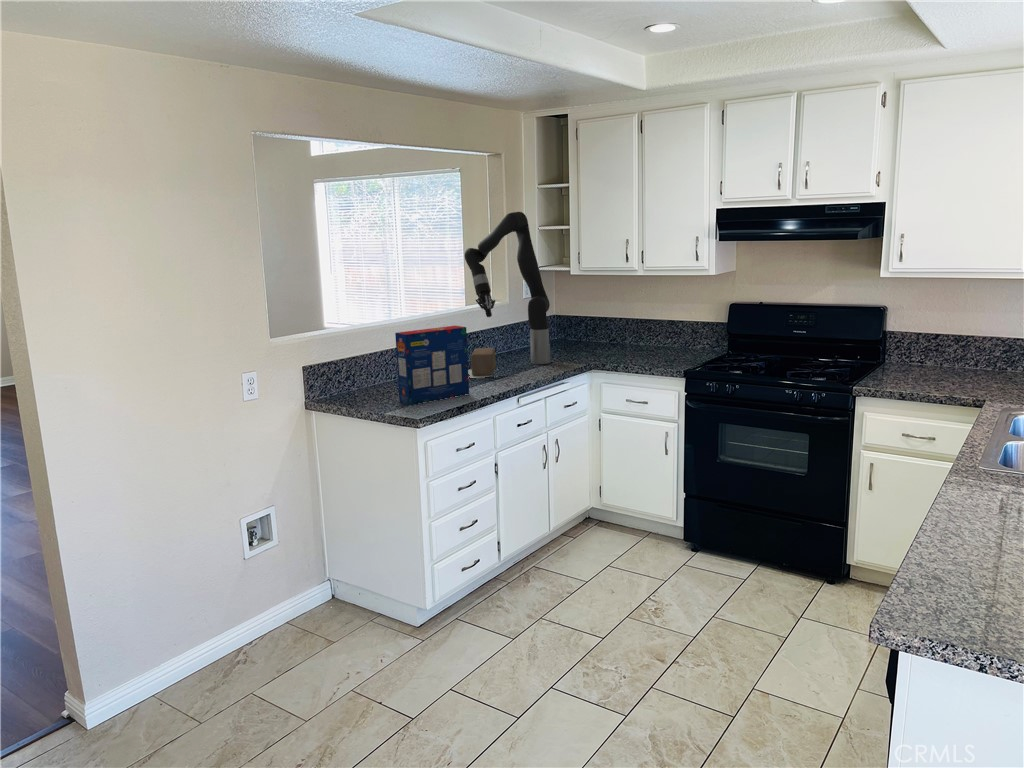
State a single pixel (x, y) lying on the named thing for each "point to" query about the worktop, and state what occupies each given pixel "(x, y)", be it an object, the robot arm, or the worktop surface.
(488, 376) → the mat
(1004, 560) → the worktop surface
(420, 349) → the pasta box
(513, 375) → the worktop surface
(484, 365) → the wooden block
